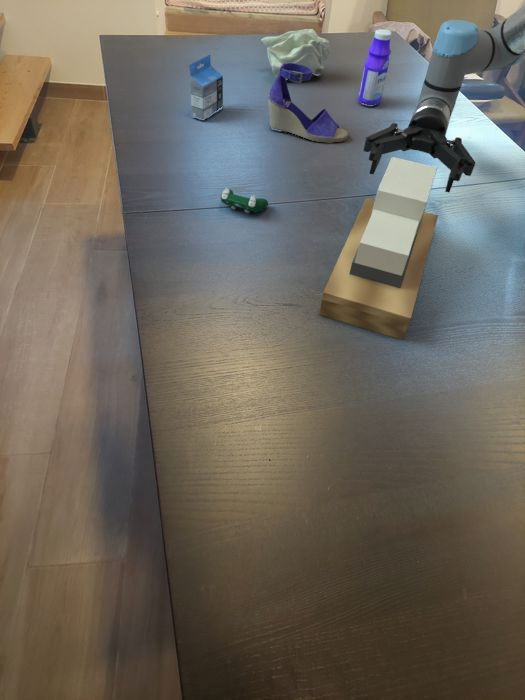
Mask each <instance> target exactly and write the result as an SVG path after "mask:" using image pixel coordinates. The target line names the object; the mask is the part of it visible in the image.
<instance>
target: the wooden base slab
mask: <svg viewBox="0 0 525 700" xmlns="http://www.w3.org/2000/svg"><path fill="white" fill-rule="evenodd" d="M375 199H376V198H371V197H368V196H367V197H365V199H364V201H363V204H362V206H361V208H360V210H359V213H358V215H357V216H356V219H355V221H354V223H353V226H352V228H351V230H350V232H349V234H348V237H347V239H346V240H345V243H344V244H343V245H344V246H343V248H342V250H341V252H340V254H339V256H338V259H337V261H336V263H335V265H334V267H333V270H332V272H331V274H330V276H329V278H328V280H327V283H326V285H325V287H324V290H323V292H322V297H321V301H320V306H319V311H318V315H319V316H322V317H324V318H329V319H332V320H335V321H338V322H342V323H345V324H349V325H351V326H355V327H357V328H361V329H365V330H368V331H371V332H375V333H378V334H381V335H384V336H387V337H391V338H395V339H397V340H401V341H403V340H404V337H405V335H406V332H407V330H408V327H409V326H410V323H411V320H412V316H413V313H414V309H415V306H416V301H417V299H418V295H419V294H418V293H419V290H420V287H421V283H422V278H423V274H424V271H425V267H426V263H427V260H428V256H429V252H430V248H431V245H432V241H433V236H434V234H435V229H436V225H437V221H438V217H439V215H438V214H435V213H431V212H426V211H424V213H423V217H422V220H421V223H420V227H419V230H418V233H417V237H416V240H415V243H414V247H413V250H412V253H411V257H410V260H409V263H408V267H407V270H406V273H405V277H404V280H403V282H402V285H401V288H397V287H393V286H390V285H386V284H383V283H379V282H376V281H372V280H369V279H365V278H362V277H358V276H355V275H351V274H349V273H350V269H351V265H352V261H353V259H354V257H355V254H356V252H357V249H358V247H359V244H360V241H361V239H362V236H363V234H364V232H365V229H366V227H367V225H368V222H369V220H370V217H371V214H372V210H373V206H374V202H375Z"/></svg>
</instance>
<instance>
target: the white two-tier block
mask: <svg viewBox="0 0 525 700" xmlns="http://www.w3.org/2000/svg"><path fill="white" fill-rule="evenodd" d="M437 170H438V167H437V166H433V165H429V164H425V163H420V162H416V161H413V160H412V161H411V160H407V159H404V158H399V157H395V156H392V157H391V158H390V161H389V163H388V165H387V168H386V170H385V172H384V175H383V177H382V179H381V182H380V184H379V186H378V189H377V190H376V195H375V198H374V199H375V202H374V206H373V210H372V214H371V217H370V220H369V222H368V225H367V227H366V229H365V232H364V234H363V236H362V239H361V241H360V244H359V247H358V249H357V252H356V254H355V257H354V259H353V261H352V265H351V269H350V273H349V274H351V275H355V276H358V277H362V278H365V279H369V280H372V281H376V282H379V283H383V284H386V285H390V286H393V287H397V288H401V285H402V282H403V280H404V277H405V273H406V270H407V267H408V263H409V260H410V257H411V253H412V250H413V247H414V243H415V240H416V237H417V233H418V230H419V227H420V223H421V220H422V217H423V213H424V212H425V210H426V206H427V203H428V200H429V197H430V194H431V190H432V187H433V184H434V180H435V177H436V173H437Z"/></svg>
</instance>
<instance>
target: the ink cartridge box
mask: <svg viewBox="0 0 525 700" xmlns="http://www.w3.org/2000/svg"><path fill="white" fill-rule="evenodd" d="M211 63H212V62H211V54H208V55H206V56H204V57H202V58H200V59H198V60H196V61H194V62H193V63H190V64H189V65H188V66H189V74H190V75H189V76H190V106H191V107H190V108H191V117H192V116H195V117H198V118H201V119H205V118H207V117H208V116H210V115H211V114H213V113H214V112H215V111H217V110H218V109H219V108H221V107H222V106H223V107H224V77H223V75H222V74H221V73H220V72H219V71H217V69H216V68H214V67H213V66H212V64H211ZM200 65H203V66H200ZM199 66H200V67H199ZM198 67H199V68H198Z"/></svg>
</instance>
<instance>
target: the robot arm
mask: <svg viewBox="0 0 525 700" xmlns="http://www.w3.org/2000/svg"><path fill="white" fill-rule="evenodd" d="M524 57H525V4H524V5H523V6H522V7H520V8H519V9H518V10H516V11H515V12H513V13H512V14H511V15H509V16H508V17H507V18H506V19H504V20H502V21H501V22H499V23H498V24H496V26H494V27H492V28H488V29H483V30H480V29H479V26H478V25H477V24H475V23H473V22H471V21H469V20H468V21H467V20H463V19H449V20H446V21H444V22H443V23H442V24H440V27H439V30H438V33H437V35H436V37H435V42H434V43H433V46H432V51H431V56H430V59H429V62H428V65H427V70H426V74H425V78H424V80H423V83H422V86H421V91H420V93H419V97H418V101H417V103H416V107H415V109H414V111H413V114H412V116H411V119H410V120H409V123H408V125H407V127H406V128H404V129H401V128H399V127H398V125H399V124H398V123H396V122H392V123H391V124H390V125H389V126H388V127H386V128H384V129H382V130H379V131H377V132H375V133H372V134H370V135H368V136H366V137H365V140H364V146H363V152H366V153H369V156H368V161H370V162H371V164H370V169H369V174H370V175H375V172H376V170H377V167H378V166H379V164H380V161H381V159H382V155H385V154H390V153H393V152H398V151H402V152H407V151H411V150H412V151H418V152H422V153H426V154H429V155H430V156H431V158H432V159H438V161H440V162H441V164H443V165H444V166H445V167H446V168H447V169H449V171H450V172H449V175H448V178H447V182H446V186H445V191H444V192H445V193H450V192H451V190H452V187H453V184H454V182H460V180H461V178H462V176H463V174H464V176H468V177H470V176H472V173H473V170H474V168H475V166H476V160H475V159H474V158H473V156H472V155H471V154H470V153H469V151H468V149H467V148H466V147H465V146H464V144H463V139H462V138H461V137H459V136H458V137H457V136H456V137H455V138H454V139H452V140H450V139H448V138H447V137H446V136H447V131H448V128H449V125H450V122H451V117H452V115H453V112H454V109H455V106H456V103H457V99H458V96H459V93H460V90H461V88H462V85H463V82H464V79H465V76H468V75H471V74H477V73H483V72H491V71H495V70H496V71H497V70H504V69H508V68H509V67H512V66H515V65H517V64H518V63H520V62H521V61H522V60H523V59H524Z"/></svg>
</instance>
